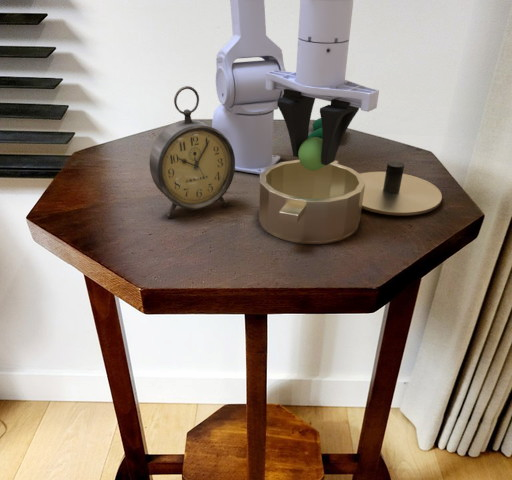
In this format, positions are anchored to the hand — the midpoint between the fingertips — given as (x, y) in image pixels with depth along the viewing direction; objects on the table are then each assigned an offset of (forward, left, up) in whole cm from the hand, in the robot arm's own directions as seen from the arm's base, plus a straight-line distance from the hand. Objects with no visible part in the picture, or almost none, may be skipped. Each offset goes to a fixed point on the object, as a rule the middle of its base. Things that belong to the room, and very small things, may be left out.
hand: (313, 158), depth 69 cm
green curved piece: (-7, +34, -9) cm, 36 cm away
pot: (0, 0, -9) cm, 9 cm away
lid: (+9, +12, -8) cm, 17 cm away
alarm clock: (-16, -3, -9) cm, 19 cm away
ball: (0, 0, +1) cm, 1 cm away
